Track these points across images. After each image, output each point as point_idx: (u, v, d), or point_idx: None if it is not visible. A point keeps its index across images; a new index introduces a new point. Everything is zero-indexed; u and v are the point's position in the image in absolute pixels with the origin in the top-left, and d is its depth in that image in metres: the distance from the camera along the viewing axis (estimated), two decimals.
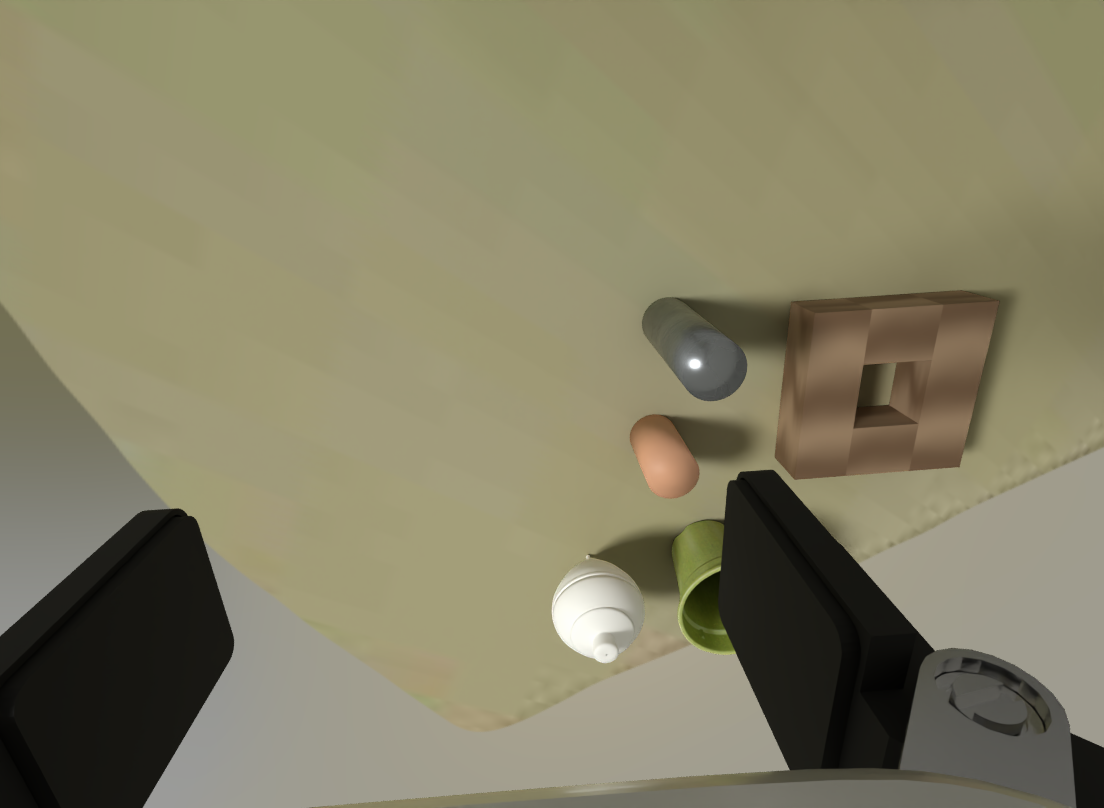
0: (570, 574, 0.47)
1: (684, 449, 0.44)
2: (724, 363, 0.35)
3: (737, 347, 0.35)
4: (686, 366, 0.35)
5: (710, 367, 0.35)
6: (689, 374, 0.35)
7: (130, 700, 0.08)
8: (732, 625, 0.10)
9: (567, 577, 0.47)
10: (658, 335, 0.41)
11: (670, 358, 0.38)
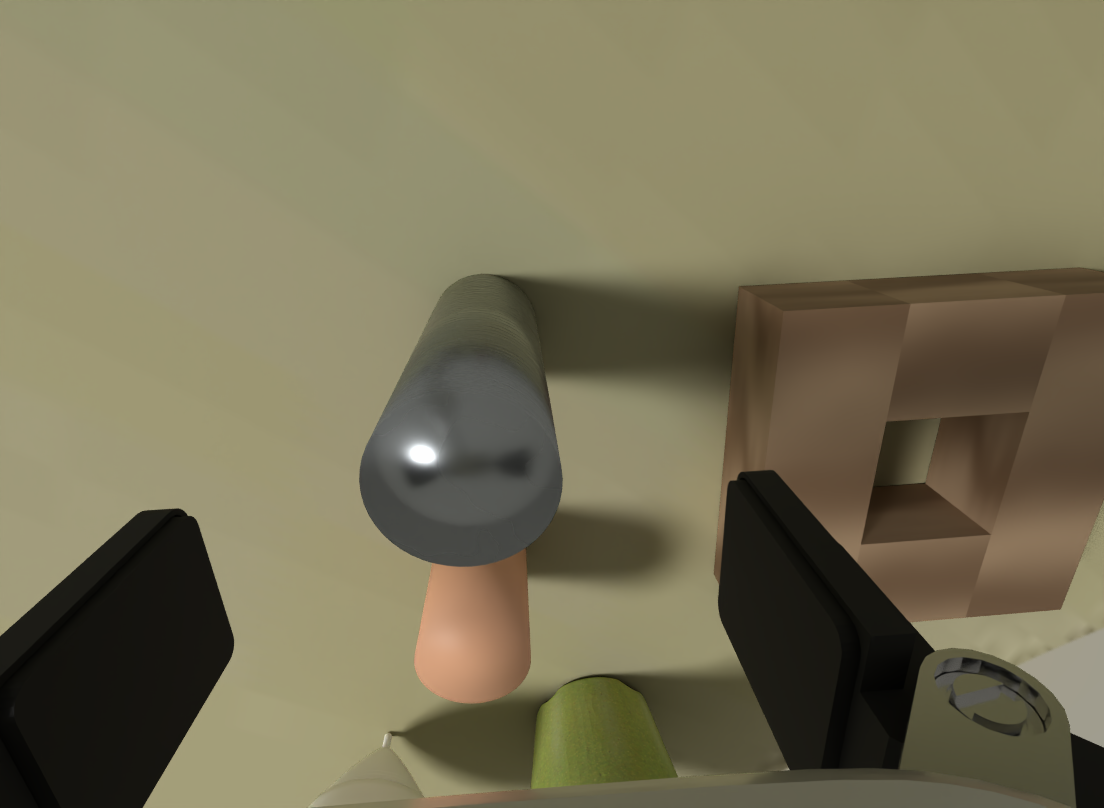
0: None
1: (499, 604, 0.20)
2: (489, 465, 0.11)
3: (523, 418, 0.11)
4: (370, 474, 0.11)
5: (446, 476, 0.11)
6: (385, 496, 0.11)
7: (130, 700, 0.08)
8: (732, 625, 0.10)
9: None
10: None
11: None
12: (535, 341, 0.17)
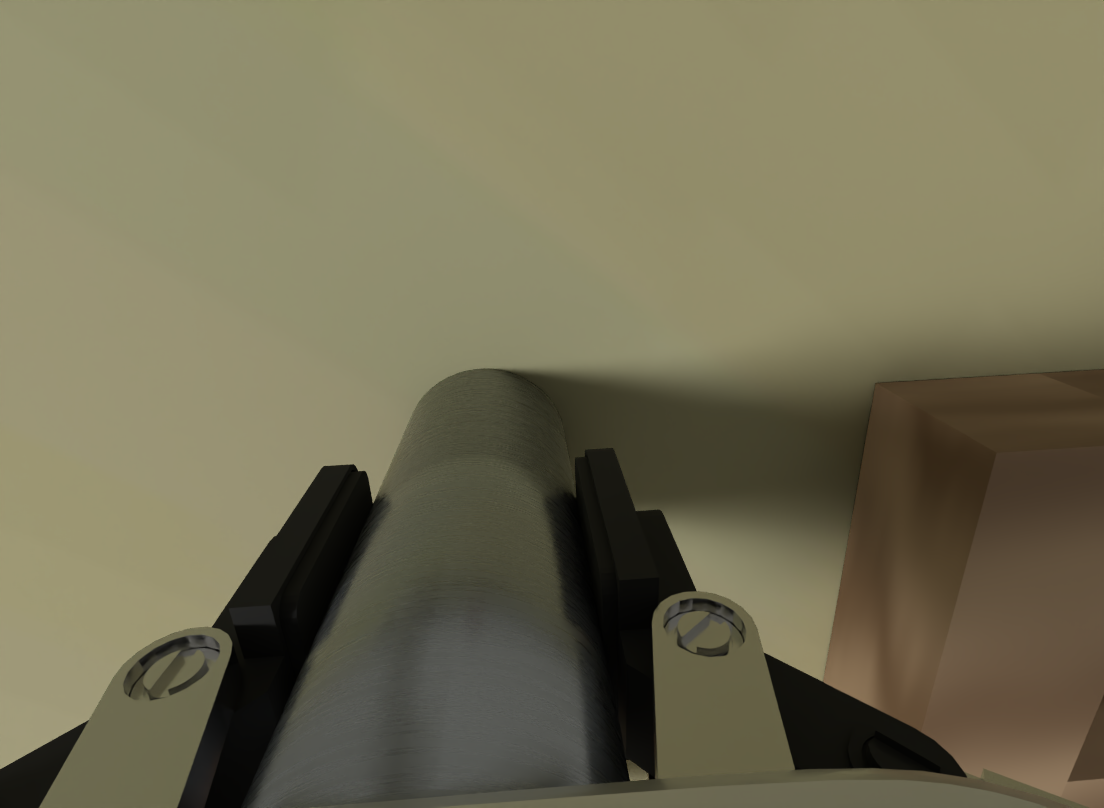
0: None
1: None
2: None
3: None
4: None
5: None
6: None
7: None
8: None
9: None
10: None
11: None
12: (575, 529, 0.09)
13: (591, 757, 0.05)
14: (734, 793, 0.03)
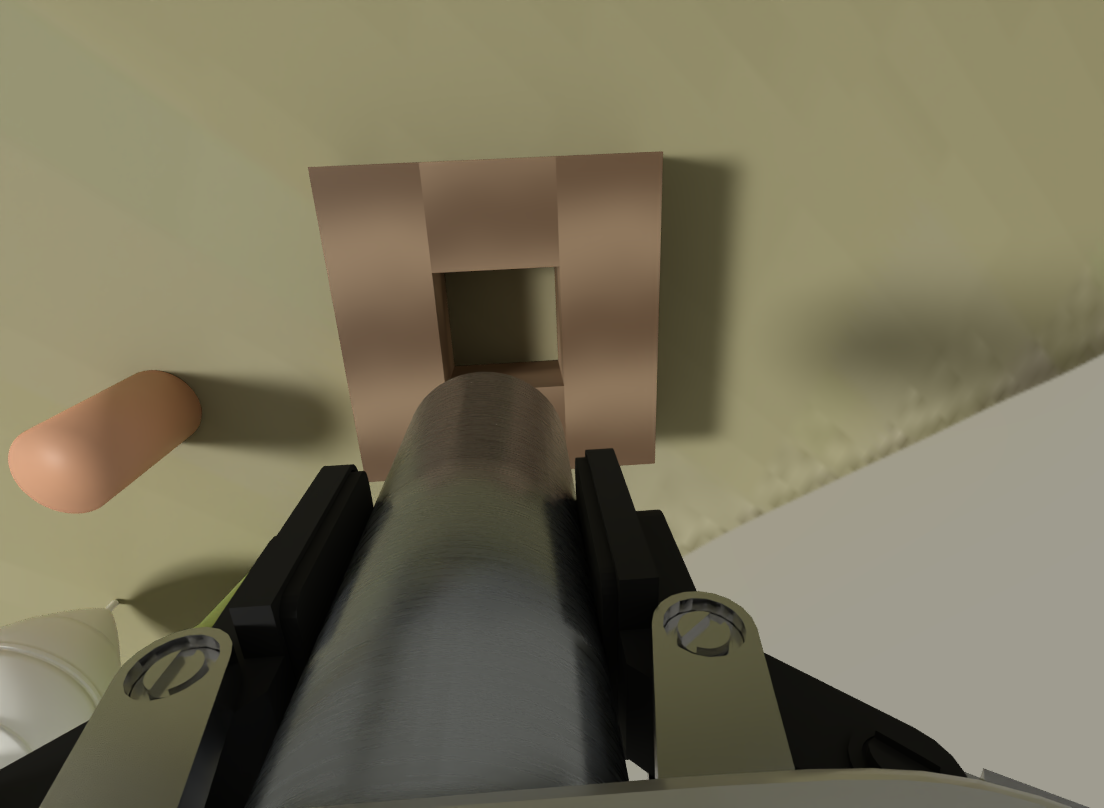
0: None
1: (87, 423, 0.24)
2: None
3: None
4: None
5: None
6: None
7: None
8: None
9: None
10: None
11: None
12: (576, 533, 0.09)
13: (592, 764, 0.05)
14: (734, 793, 0.03)
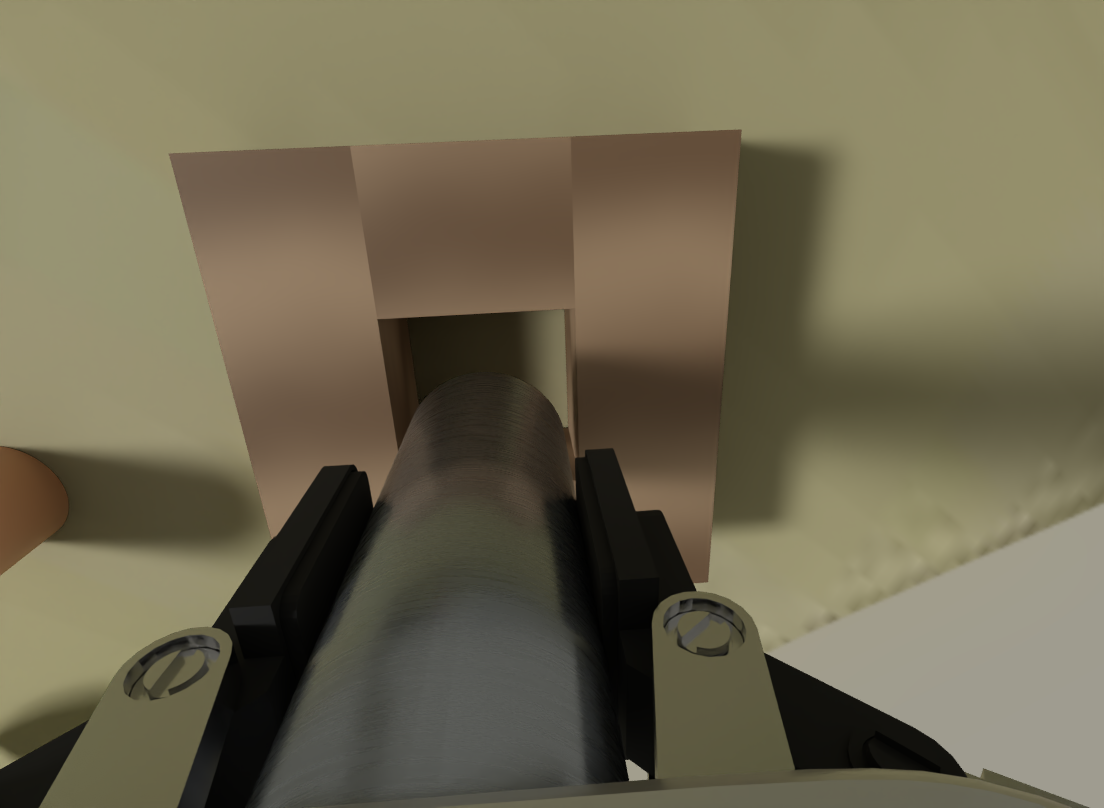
0: None
1: None
2: None
3: None
4: None
5: None
6: None
7: None
8: None
9: None
10: None
11: None
12: (576, 534, 0.09)
13: (592, 765, 0.05)
14: (734, 793, 0.03)
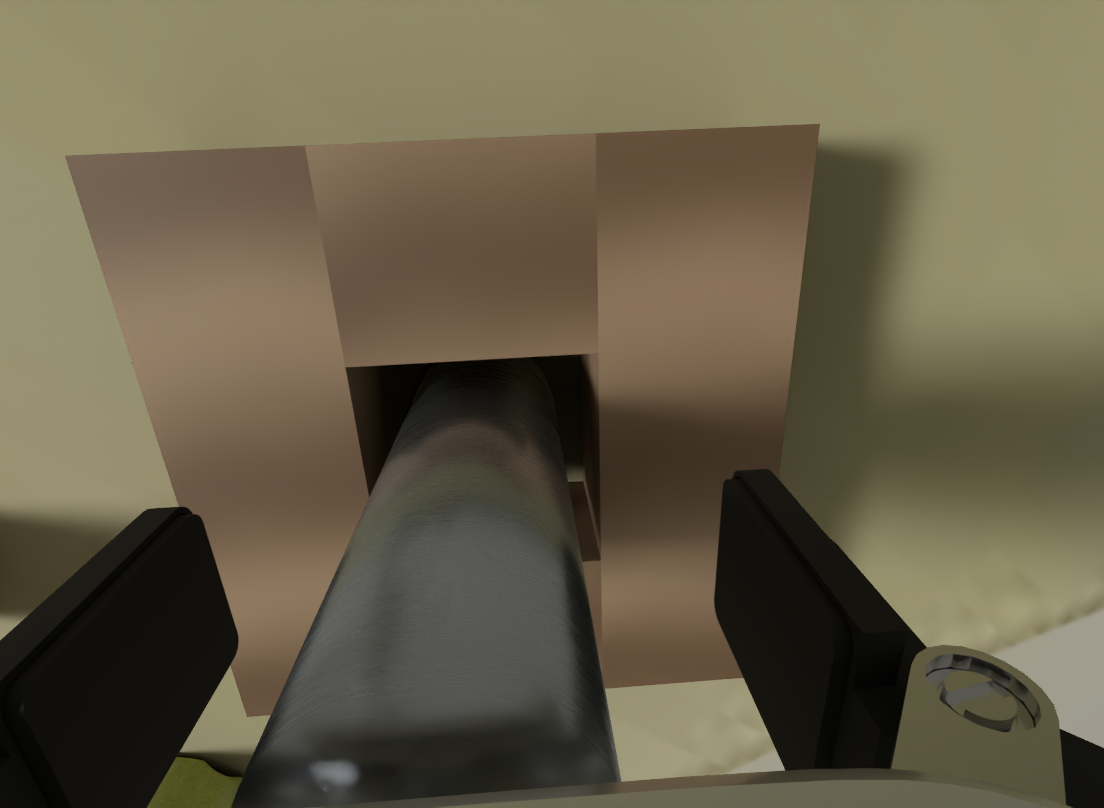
0: None
1: None
2: None
3: (555, 735, 0.05)
4: None
5: None
6: None
7: (137, 696, 0.08)
8: (728, 623, 0.10)
9: None
10: None
11: None
12: (558, 459, 0.12)
13: (561, 581, 0.08)
14: (734, 793, 0.03)
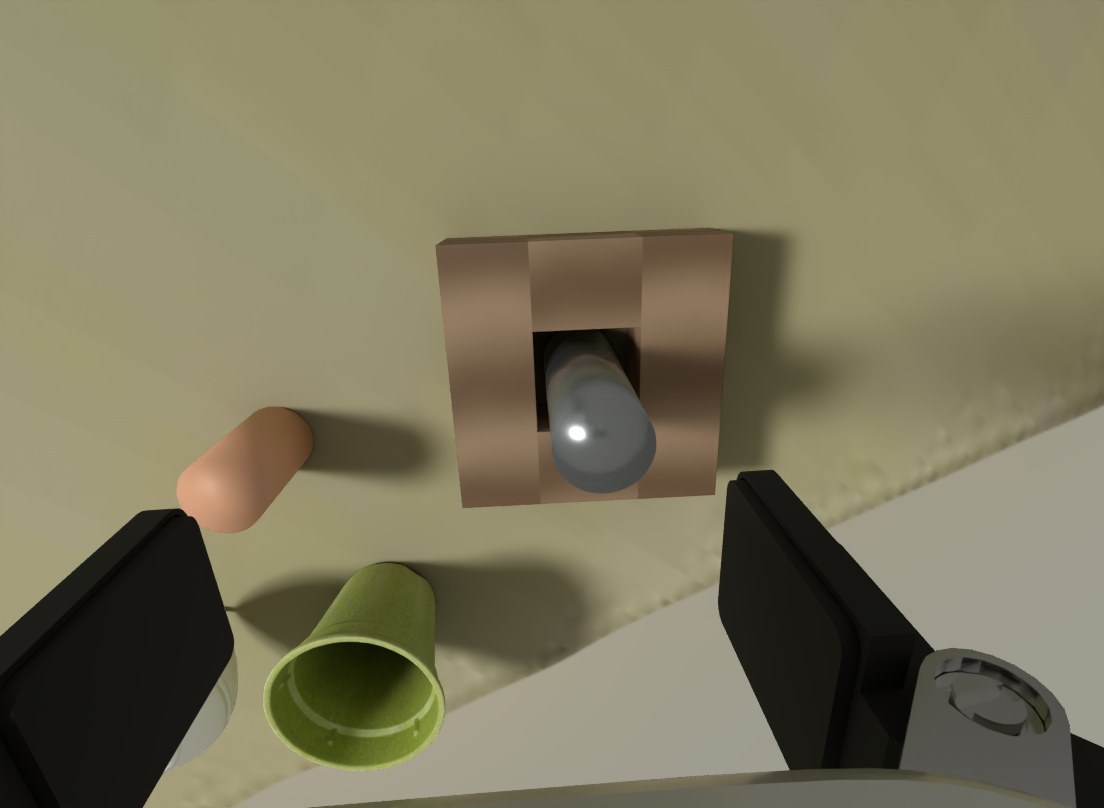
0: None
1: (241, 456, 0.28)
2: (619, 436, 0.22)
3: (639, 412, 0.22)
4: (558, 440, 0.22)
5: (596, 442, 0.22)
6: (564, 452, 0.22)
7: (130, 700, 0.08)
8: (732, 625, 0.10)
9: None
10: (547, 382, 0.28)
11: (549, 421, 0.25)
12: None
13: (634, 393, 0.24)
14: (734, 793, 0.03)
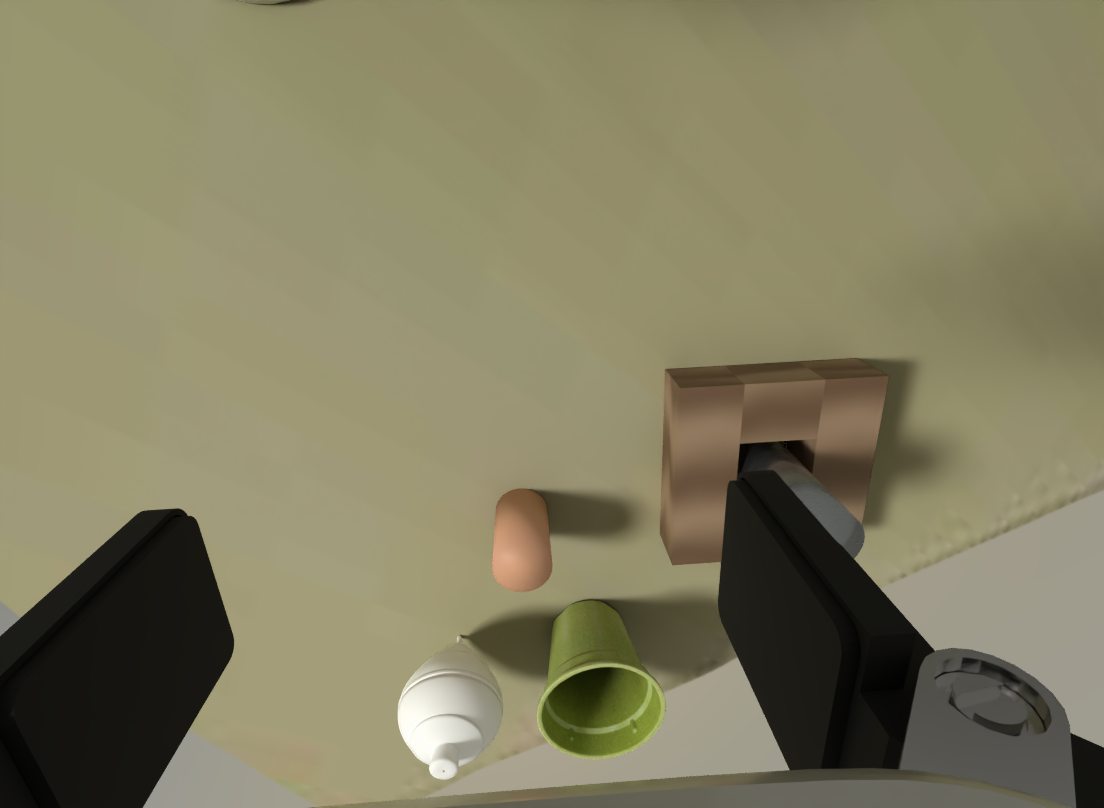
0: (419, 669, 0.42)
1: (535, 537, 0.39)
2: (840, 536, 0.33)
3: (856, 521, 0.33)
4: None
5: None
6: None
7: (130, 700, 0.08)
8: (732, 625, 0.10)
9: (415, 673, 0.42)
10: None
11: None
12: None
13: None
14: (734, 793, 0.03)
